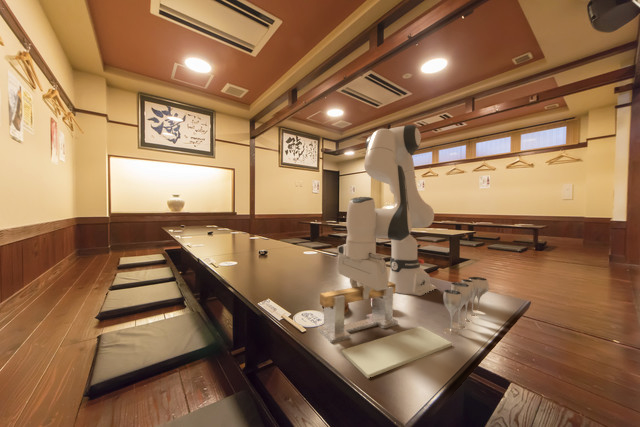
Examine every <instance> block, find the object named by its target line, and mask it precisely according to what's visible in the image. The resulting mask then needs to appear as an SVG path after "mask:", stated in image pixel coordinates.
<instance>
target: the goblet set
mask: <svg viewBox="0 0 640 427" xmlns="http://www.w3.org/2000/svg"><path fill="white" fill-rule="evenodd" d="M489 289H490V285H489V281H488V279H487V278H485V277H481V276H480V277H479V276H471V277H469V276H468V277H467V279H464V278H463V279H461V280H460V282H458V281H457V282H455V281H453V282H451V283H450V289H444V290H443V296H442V299H443V303H444V304H443V305H444V306H445V308H446V309H447V310H448V313H449V317H450V328H449V327H446V328H443V329H442V331H443V333H445V334H446V333H448V334H447V335H449V334H451V335H450V336H452V335H453V336H454V337H455V336H456V335H458V336H460V335H459V333H460V332H459V331H458V330H459V329H463V328H465V326H466V325H465V324H463V323H461V321H460V319H461V313H462V308H463V306H464V305H465V319H462V320H463V321H466V322H470V321H469V320H470V319H469V320H468V317H467V314H468V305H469V302H470V300H471V310H472V312H471V313H470V314H471V316H475V315H476V314H474V313H473V309H474V305H475V304H474V303H475V300H476V298H477V310H478V311H479V310H480V301H481V300H480V299H481V297H482V296H483V295H484V294H486V293H488V292H489ZM456 312H458V313H457V314H458V322H454V321H453V320H454V315H455V313H456ZM460 323H461V324H460ZM462 324H463V325H462ZM464 325H465V326H464ZM456 337H457V336H456Z"/></svg>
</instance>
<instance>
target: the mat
mask: <svg viewBox="0 0 640 427" xmlns="http://www.w3.org/2000/svg"><path fill="white" fill-rule="evenodd" d="M452 345H453V342H451V341H449V340H447V339H445V338H444V337H442V336H440V335H438V334H436V333H434V332H432V331H430V330H428V329H426V328H425V327H422V326H417V327H413V328H410V329H406V330H403V331H400V332H397V333H394V334H390V335H388V336H387V335H386V336H384V337H380V338H377V339H374V340H371V341H367V342H364V343H361V344H358V345H354V346H351V347H348V348H344V349H342V350H341V354H342V355H343V356H344V357H345V358H346V359H347V360H348V361H349V362H350V363H351V364H352V365H353V366H354V367H355V368H356V369H357V370H358V371H359V372H360V373H361V374H362V375H363V376H364V377H366V378H367V379H371V378H372V377H375V376H378V375H381V374H383V373H386V372H387V371H390V370H393V369H396V368H398V367H400V366H403V365H406V364H409V363H411V362H414V361H416V360H418V359H421V358H425V357H427V356H428V355H431V354H434V353H436V352H439V351H442V350H445V349H446V348H449V347H452ZM370 377H371V378H370Z"/></svg>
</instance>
